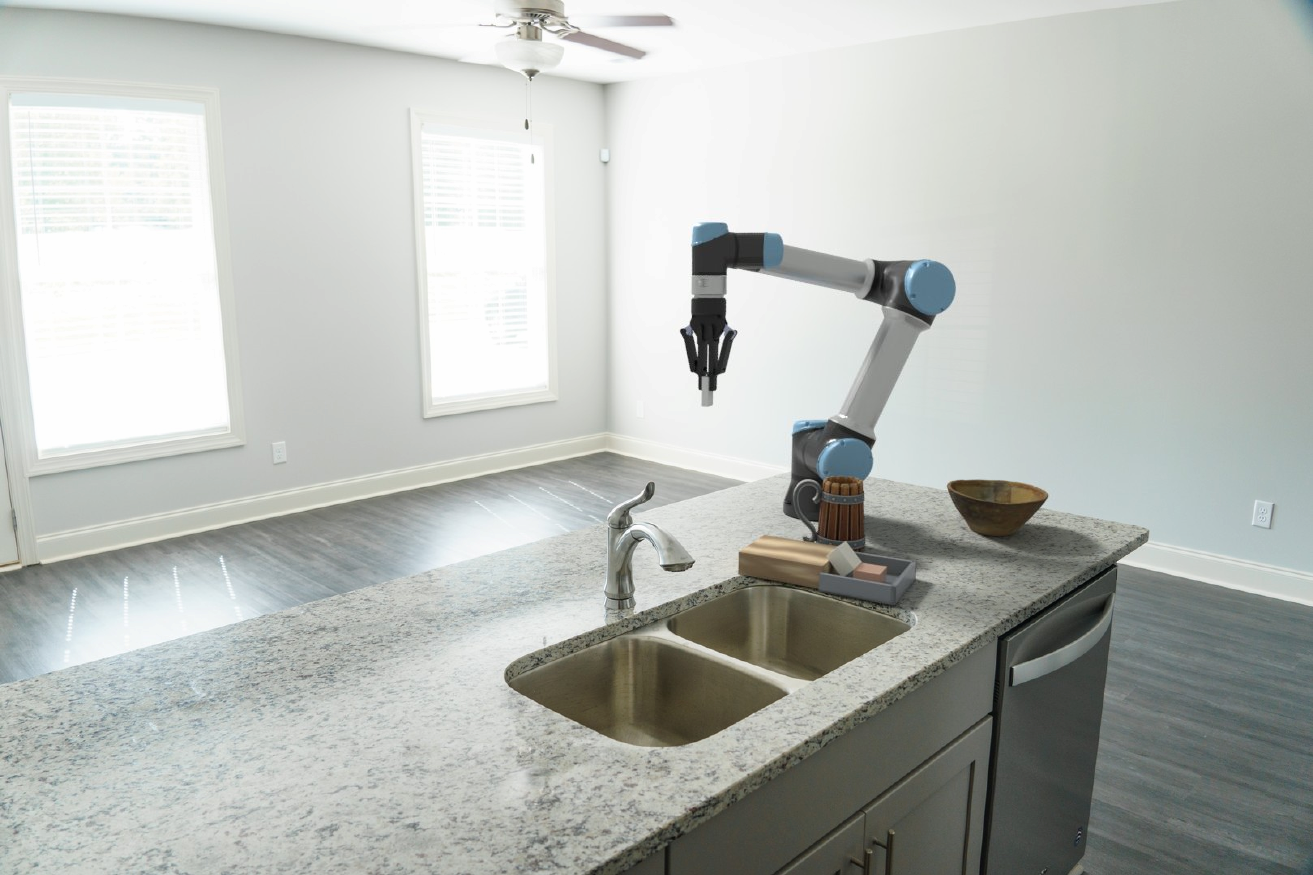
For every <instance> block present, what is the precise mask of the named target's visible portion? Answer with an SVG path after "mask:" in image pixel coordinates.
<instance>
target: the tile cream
mask: <svg viewBox="0 0 1313 875" xmlns="http://www.w3.org/2000/svg"><path fill="white" fill-rule="evenodd" d="M826 557H827V558H828V560H829V561H830V562H831V564H832V565H833V566H834V568H835V569H836V570H837V572H838V573H839V574H840V576H845V575H847V574H848V573H850V572H851V571H853V570H854V569H855V568H856V567H857V566H858V565H859V564H860V563H861V560H860V559H859V558H858V556H857V555H856V554H855V552H854V551H853V550H852V548H851V547H850V546H849V545H848V543H847V542H846V541H845V542H843V543H842V544H841V545H839V546H838V547H836V548H835V549H834V550H832V551H831V552H830V553H829V554H828V555H827V556H826Z"/></svg>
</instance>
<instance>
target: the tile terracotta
mask: <svg viewBox="0 0 1313 875" xmlns="http://www.w3.org/2000/svg"><path fill="white" fill-rule="evenodd" d="M886 574H887V567H885V566H879V565H873V564H867V563H860V564H859V565H858V566H857V567H856V568H855V569H854V570H853V578H856V579H862V580H867V581H873V582H879V583H884V584H885V582H886Z"/></svg>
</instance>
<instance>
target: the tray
mask: <svg viewBox="0 0 1313 875" xmlns="http://www.w3.org/2000/svg"><path fill="white" fill-rule="evenodd" d="M855 554H856V555H857V556H858V558H859V559H860V560H861V563H867V564H873V565H879V566H885V567H887V574H886V582H885V584H884V583H879V582H873V581H867V580H862V579H856V578H853V571H851V572H850V573H848V574H847V575H845V576H840V574H839V573H838V572H837V573H836V574H835V575H833V574H827V573H822V572H821V573H820V578H819V589H818V592H819V593H825V594H830V595H835V596H840V597H846V598H852V599H856V600H862V601H866V602H873V603H878V604H883V605H889V606H896V604H897V603H898V601H900V599H902V596H904V594H905V593H906V591H908V589H909V588H910V586H911V585H912V584H913V583H914V582H915V581H916V579H917V578H916V575H917V562H918V561H917V560H916V561H915V560H910V559H905V558H904V559H903V558H896V557H891V556H884V555H878V554H871V553H865V552H862V551H861V552H855Z"/></svg>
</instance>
